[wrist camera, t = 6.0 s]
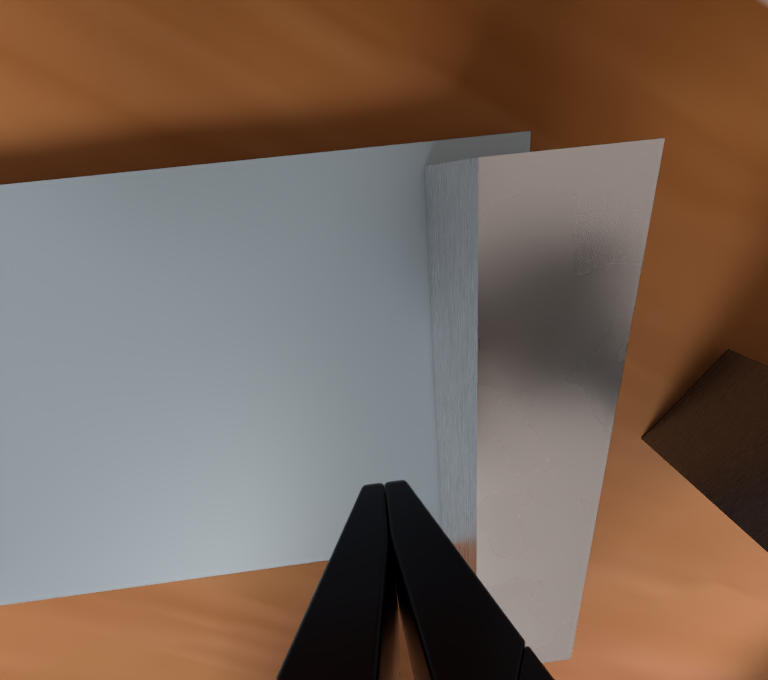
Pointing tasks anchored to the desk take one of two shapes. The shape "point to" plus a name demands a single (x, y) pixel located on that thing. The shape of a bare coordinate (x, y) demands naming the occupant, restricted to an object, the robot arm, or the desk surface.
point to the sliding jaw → (533, 361)
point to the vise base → (212, 362)
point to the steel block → (723, 440)
